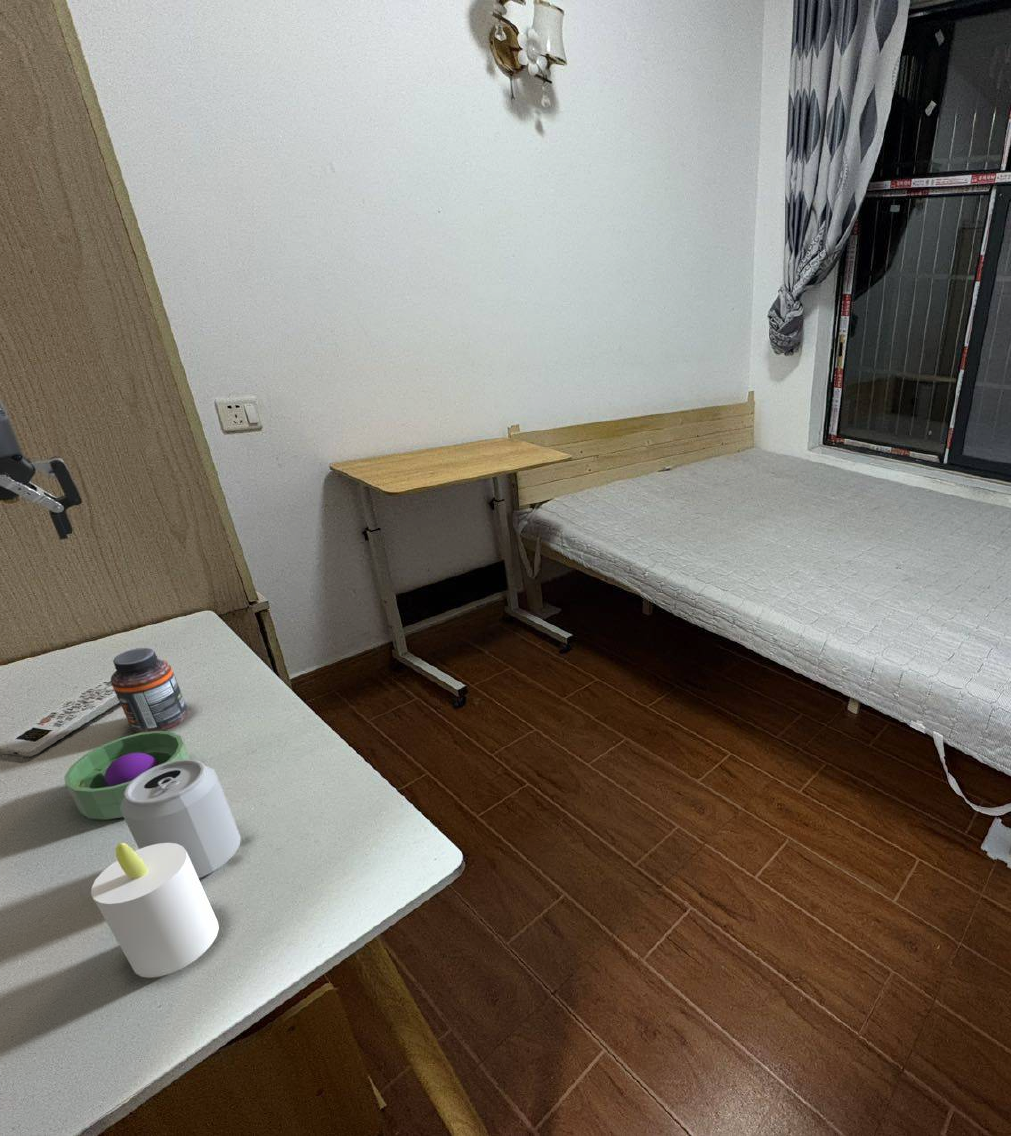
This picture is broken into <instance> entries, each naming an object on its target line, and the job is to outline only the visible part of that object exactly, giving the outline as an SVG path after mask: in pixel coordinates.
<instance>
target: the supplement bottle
mask: <svg viewBox="0 0 1011 1136" xmlns="http://www.w3.org/2000/svg"><path fill="white" fill-rule="evenodd" d="M112 660H113V661H112V662H113V665H114V668H115V670H116V671H114V672H113V673H112V674H111V677H110V684H111V686H112V688H113V691H114V693H115V696H116V698H117V700H118V701H119V704H120V706H121V709H122V710H123V714H124V715H125V717H126V719H127V722H128V724H129V726H130V727H131V729H132V731H133V732H134V733H135V734H137V733H142V732H151V731H169V730H171V729H173V728H175V727H177V726H178V725H181V724H182V723H183V722H184V721H185V720H186V718H187V717H188V715H189V710H188V706H187V703H186V701H185V698H184V696H183V692H182V691H181V687H180V685H179V684H178V680H177V678H176V676H175V673H174V671H173V668H172V666H171V664H170V663H169V662H168V661H166V660H164V659H160V658H158V655H156V652H155V650H154V649H153V648H149V647H139V648H138V647H137V648H133V649H130V650H127V651H124V652H121V653H119V654H118V655H117V656H115V657H114V658H113V659H112Z"/></svg>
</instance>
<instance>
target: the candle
mask: <svg viewBox="0 0 1011 1136" xmlns="http://www.w3.org/2000/svg"><path fill="white" fill-rule="evenodd" d="M115 855H116V861H114V862H112V863H111V864H110V865H109V866H107V867H106V868H105V869H104V870H103V871H102V872H101V873H100V874H99V875H98V876H97V877H96V878H95V880H94V882H93V883H92V886H91V889H90V895H91V897H92V899H93V901H94V902H95V904H96V906H97V908H98V909H99V912H100V913H101V915H102V916H103V918H104V920H105V922H106V923H107V925H108V927H109V928H110V931H111V932H112V935H113V937H114V938H115V940H116V941H117V943H118V945H119V947H120V949H121V950H122V952H123V954H124V956H125V958H126V959H127V961H128V963H129V964H130V966H131V968H132V970H133V972H134V973H135V975H137V976H139V977H141V978H147V979H153V978H161V977H164V976H168V975H171V974H173V973H176V972H177V971H179V970H181V969H184V968H185V967H187V966H188V965H190V964H191V963H193V962H195V961H197V959H199V957H201V956H202V955H204V953H205V952H206V951H207V950H208V949H210V947H211V946H212V945H213V943H214V941H215V940H216V939H217V936H218V933H219V930H220V927H219V922H218V919H217V917H216V914H215V912H214V910H213V908H212V906H211V903H210V901H209V898H208V897H207V893H206V892H205V890H204V887H203V885H202V882H201V880H200V878H198V876H197V874H196V872H195V869H194V867H193V865H192V863H191V860H190V858H189V856H188V854H187V851H186V850H185V849H184V847H183V846H181V845H179V844H176V843H159V844H154V845H150V846H146V847H144V848H141V849H139V848H138V849H136V850H134V849H132V847H130V845H128V844H127V843H124V842H119V843H118V844H117V845H116V848H115Z"/></svg>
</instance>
